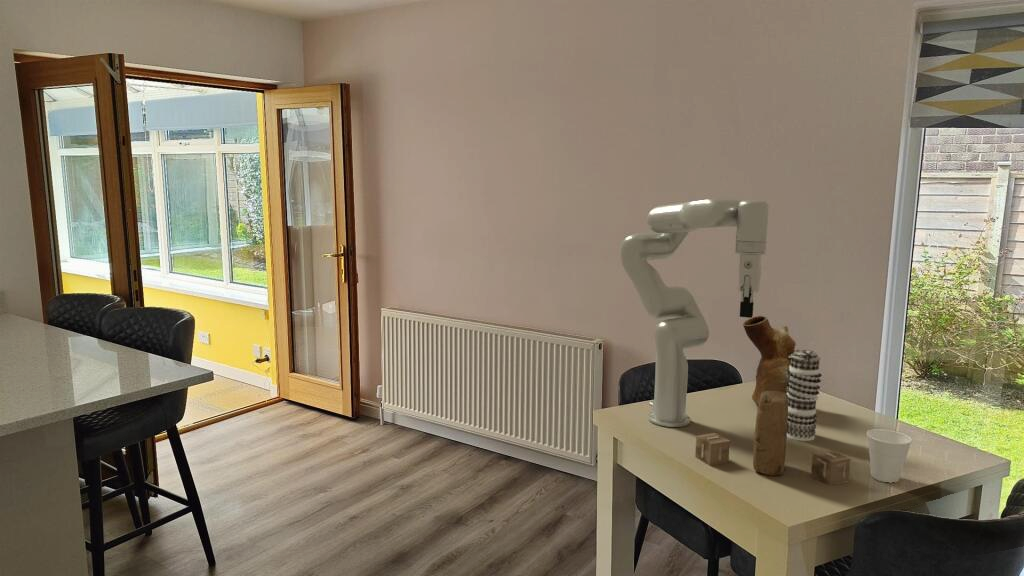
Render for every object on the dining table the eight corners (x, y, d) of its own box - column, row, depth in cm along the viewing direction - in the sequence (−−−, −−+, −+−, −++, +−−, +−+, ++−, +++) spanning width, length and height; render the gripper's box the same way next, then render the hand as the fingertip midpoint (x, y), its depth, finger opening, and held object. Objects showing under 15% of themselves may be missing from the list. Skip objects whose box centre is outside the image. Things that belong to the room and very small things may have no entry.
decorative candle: (800, 443, 193) (807, 357, 189) (775, 432, 201) (781, 349, 197) (823, 438, 197) (830, 353, 193) (797, 428, 205) (804, 346, 201)
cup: (888, 490, 164) (893, 446, 162) (853, 473, 173) (857, 432, 171) (917, 483, 168) (921, 440, 166) (881, 467, 177) (885, 426, 175)
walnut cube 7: (810, 475, 172) (812, 452, 171) (828, 472, 174) (830, 449, 173) (830, 486, 166) (832, 461, 165) (848, 482, 169) (851, 458, 168)
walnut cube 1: (694, 457, 183) (695, 435, 182) (713, 454, 185) (714, 432, 184) (709, 466, 177) (710, 443, 176) (728, 462, 179) (730, 440, 178)
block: (782, 479, 169) (788, 401, 166) (750, 473, 173) (755, 397, 169) (786, 463, 179) (792, 389, 176) (756, 458, 182) (761, 385, 179)
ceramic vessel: (814, 415, 216) (822, 322, 211) (744, 414, 216) (751, 321, 212) (795, 399, 231) (802, 312, 227) (730, 398, 232) (735, 311, 227)
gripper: (764, 251, 171) (759, 323, 174) (767, 246, 185) (762, 313, 187) (732, 249, 174) (728, 320, 177) (737, 244, 187) (733, 310, 190)
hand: (746, 316), depth 182 cm, fingers closed
